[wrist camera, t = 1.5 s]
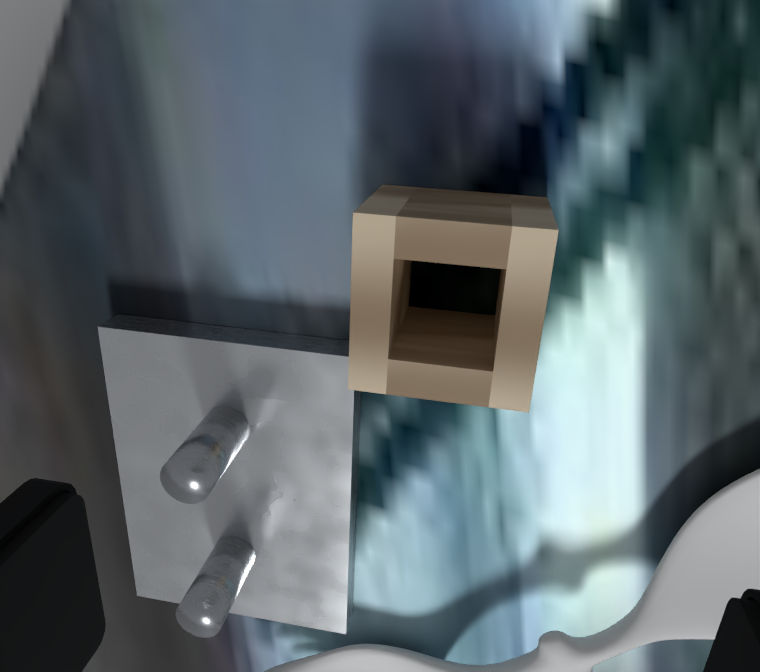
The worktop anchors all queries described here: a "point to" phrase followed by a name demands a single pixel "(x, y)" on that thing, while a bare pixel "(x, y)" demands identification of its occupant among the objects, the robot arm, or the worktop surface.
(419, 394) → the hollow wooden block
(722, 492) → the spoon
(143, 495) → the housing plate
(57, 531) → the robot arm
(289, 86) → the worktop surface
